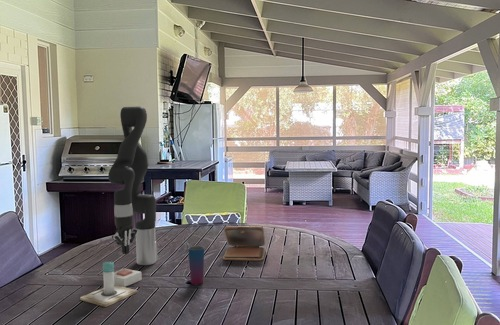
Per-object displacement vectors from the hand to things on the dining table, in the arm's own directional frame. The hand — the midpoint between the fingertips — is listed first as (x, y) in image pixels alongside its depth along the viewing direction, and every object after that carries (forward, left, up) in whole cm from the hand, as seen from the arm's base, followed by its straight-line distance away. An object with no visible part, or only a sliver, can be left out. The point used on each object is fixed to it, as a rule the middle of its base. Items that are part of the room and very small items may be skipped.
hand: (125, 253), depth 196 cm
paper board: (+16, +7, -12) cm, 21 cm away
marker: (+16, +7, -11) cm, 20 cm away
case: (-57, +25, -12) cm, 63 cm away
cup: (-13, +28, -12) cm, 33 cm away
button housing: (+1, 0, -12) cm, 12 cm away
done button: (+1, 0, -10) cm, 10 cm away
